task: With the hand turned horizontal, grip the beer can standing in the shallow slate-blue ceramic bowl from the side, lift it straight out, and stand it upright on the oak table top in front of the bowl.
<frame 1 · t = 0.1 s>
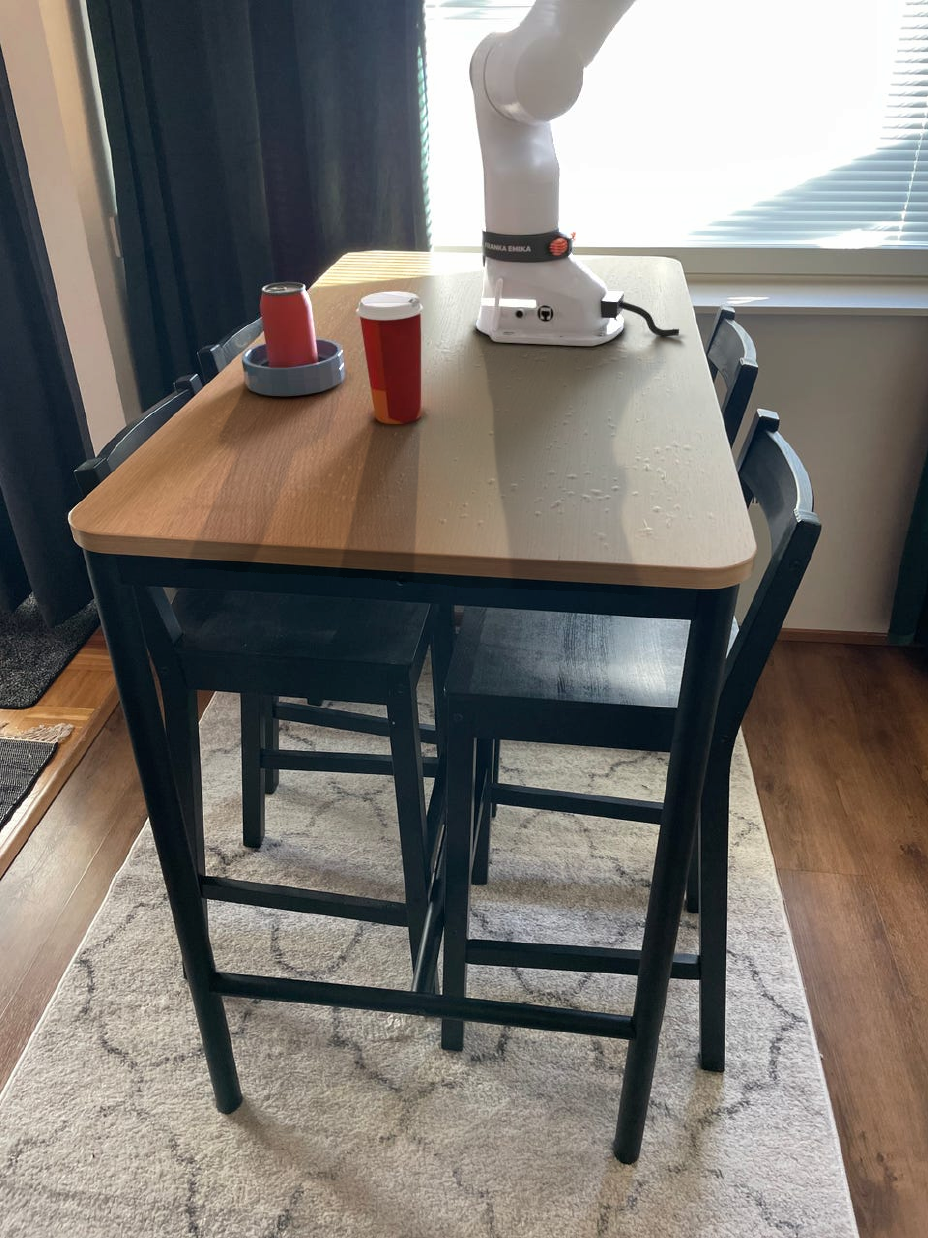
bowl: (296, 381, 125), on the table
beer can: (295, 380, 125), resting on bowl
paper cup: (397, 417, 113), on the table
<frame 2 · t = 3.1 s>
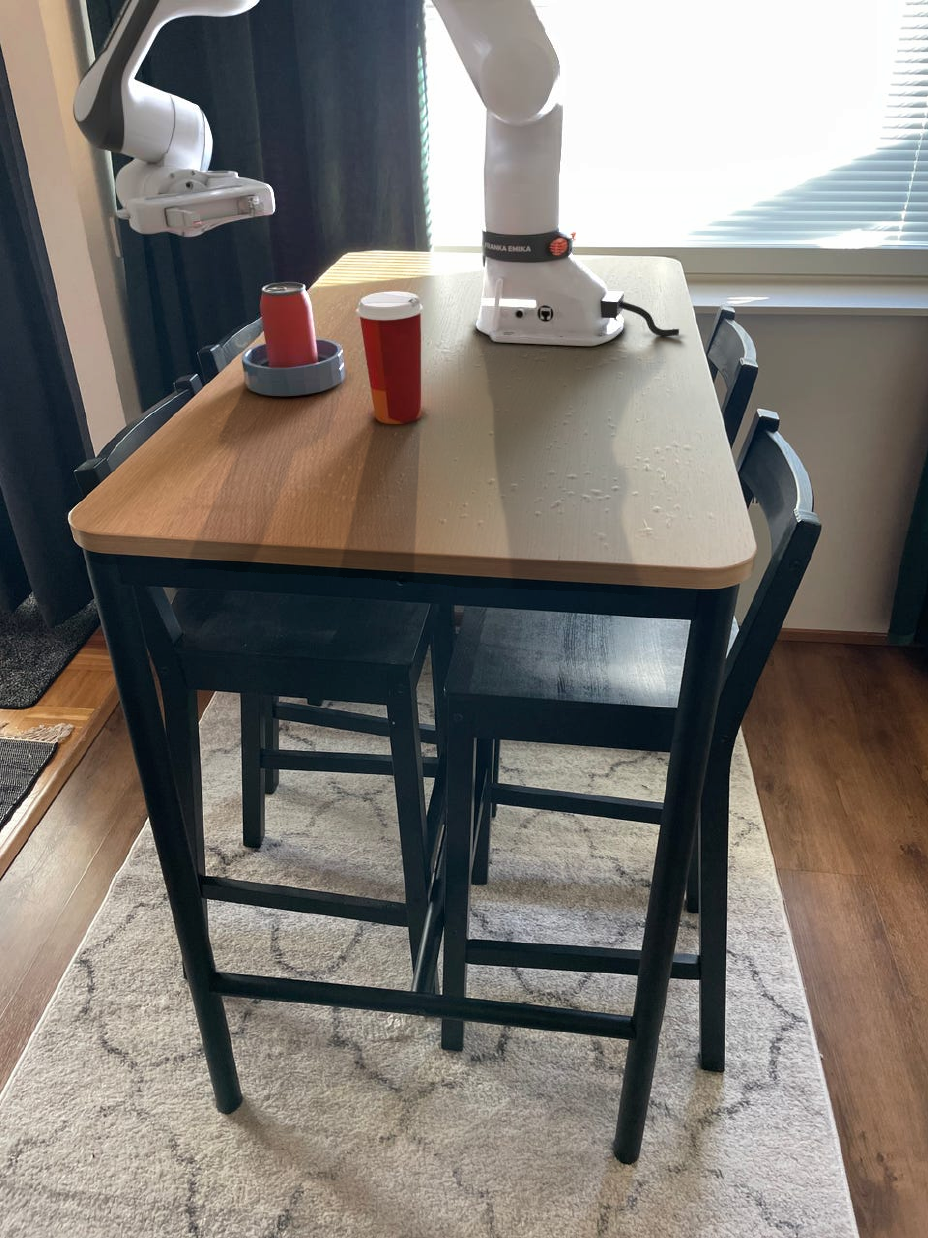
hand: (228, 214, 122), 20 cm above the table, tool horizontal, fingers open, 8 cm apart
nothing on the table moved.
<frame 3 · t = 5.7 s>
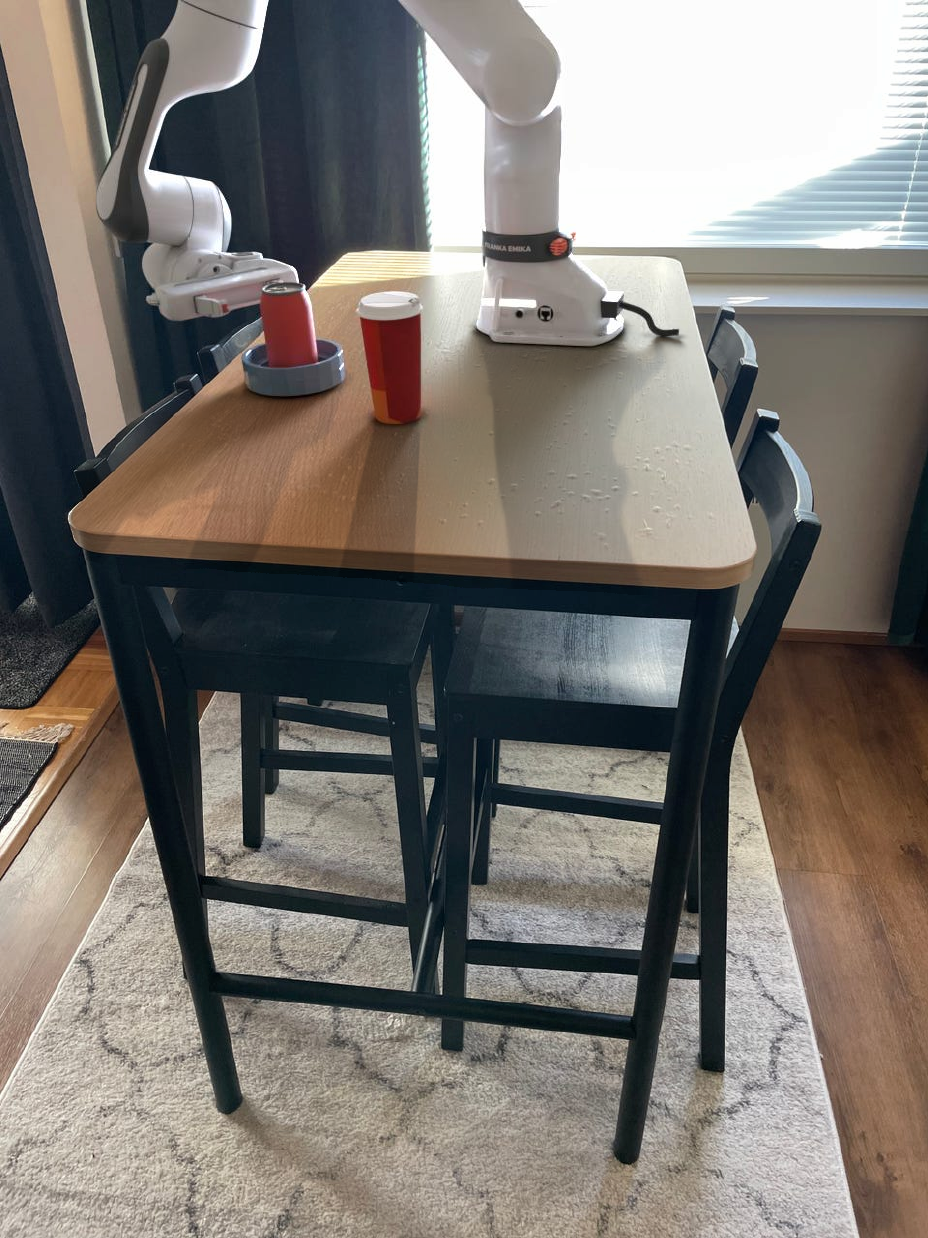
hand: (255, 301, 125), 9 cm above the table, tool horizontal, fingers open, 8 cm apart
nothing on the table moved.
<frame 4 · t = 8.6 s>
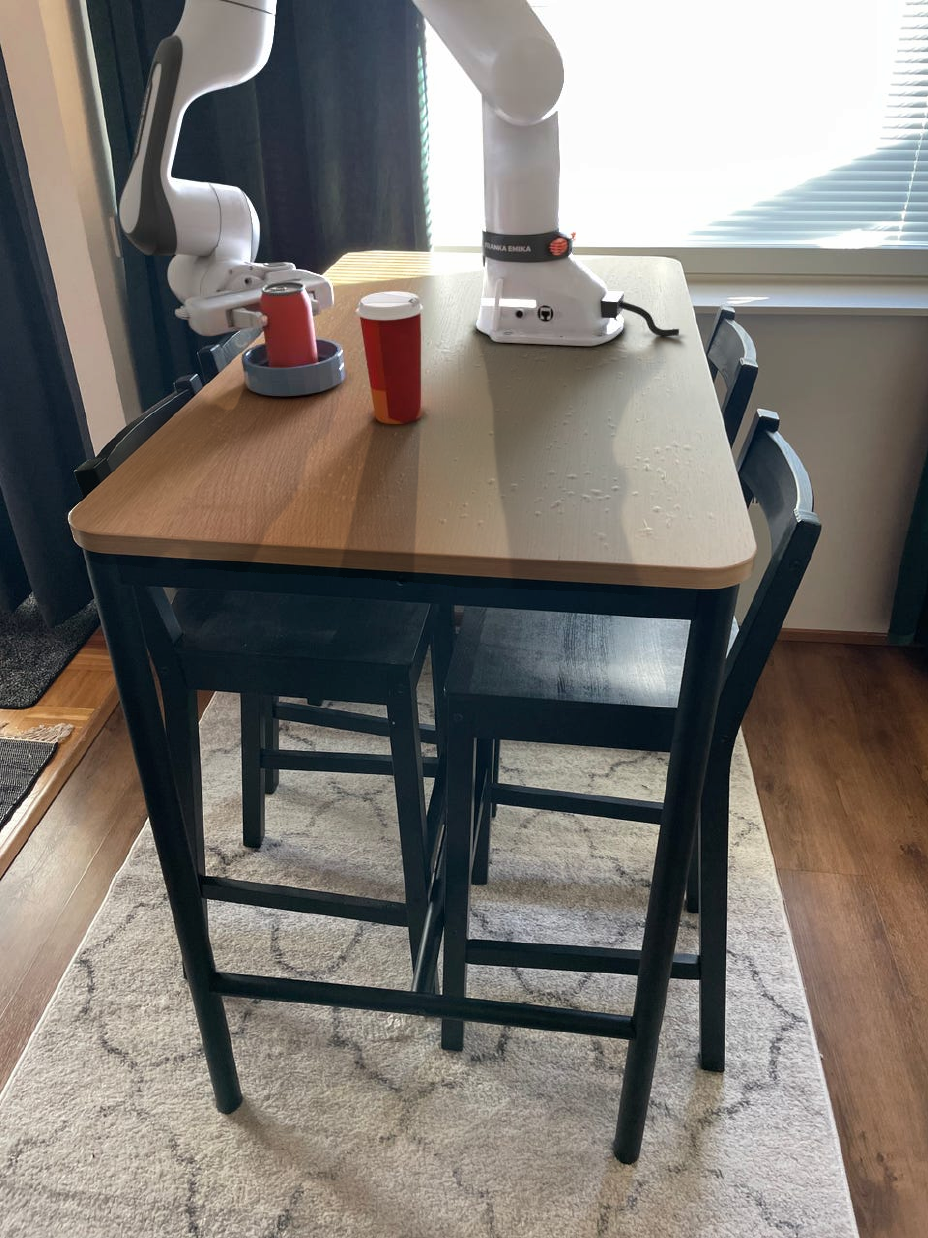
hand: (290, 315, 119), 9 cm above the table, tool horizontal, fingers closed on beer can, 6 cm apart
beer can: (295, 380, 125), resting on bowl, touching gripper
everything else where it was.
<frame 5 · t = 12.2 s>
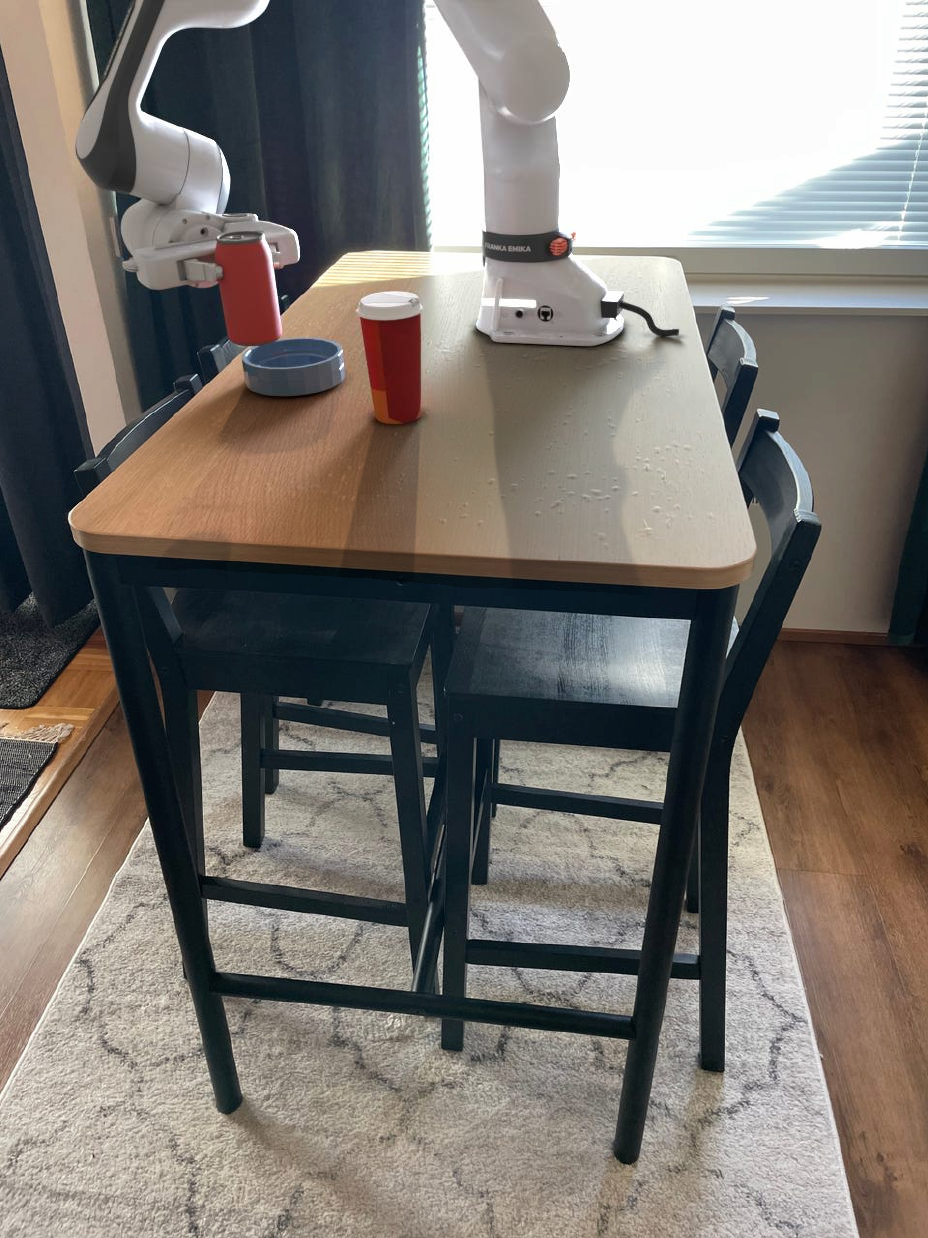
hand: (248, 267, 108), 17 cm above the table, tool horizontal, fingers closed on beer can, 6 cm apart
beer can: (256, 341, 113), point 8 cm above the table, touching gripper
everything else where it was.
when the fingers open (9 cm above the table, at t = 16.2 s): beer can stays where it is, on the table.
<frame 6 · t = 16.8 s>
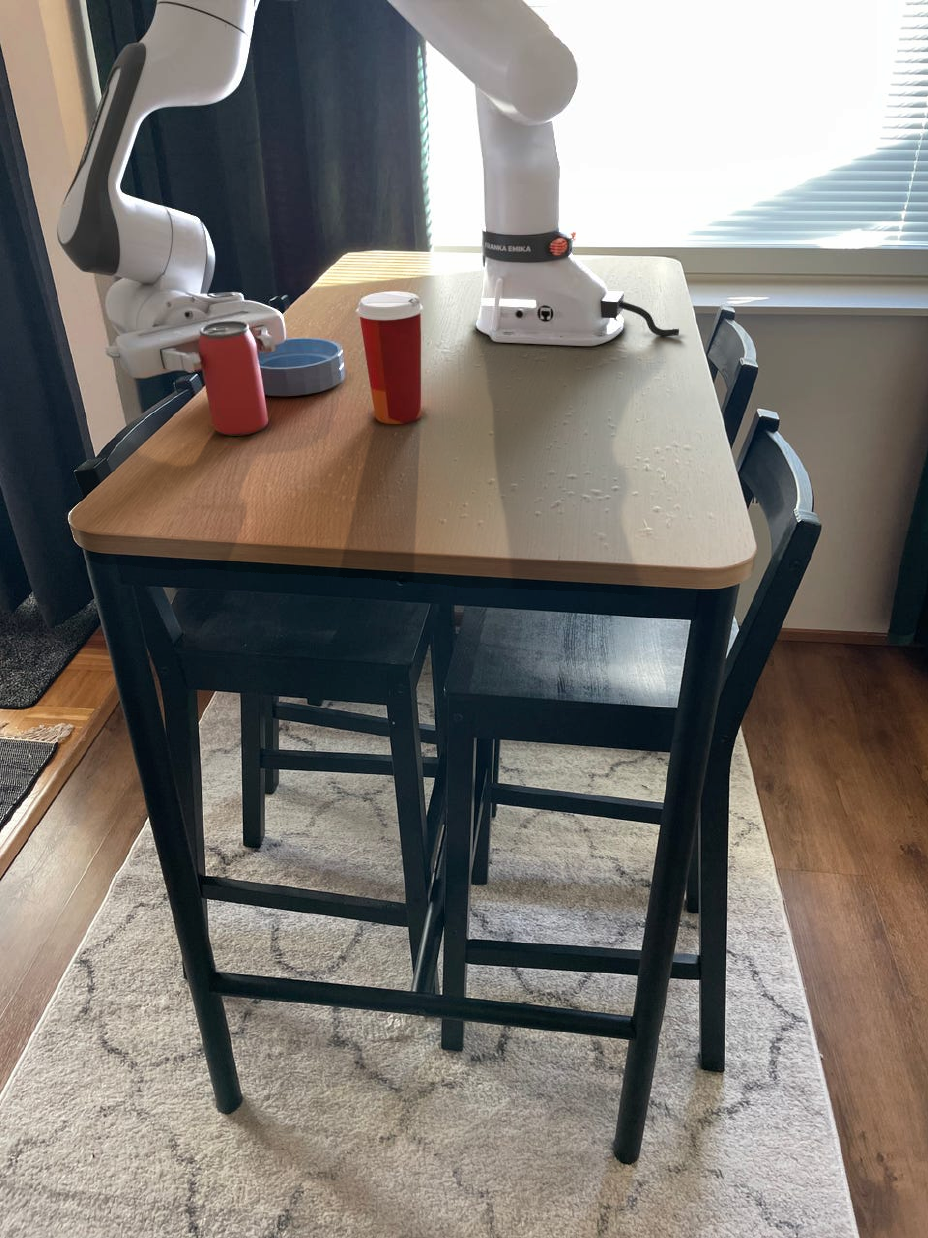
hand: (233, 354, 106), 9 cm above the table, tool horizontal, fingers open, 8 cm apart
beer can: (241, 428, 112), on the table
everything else where it was.
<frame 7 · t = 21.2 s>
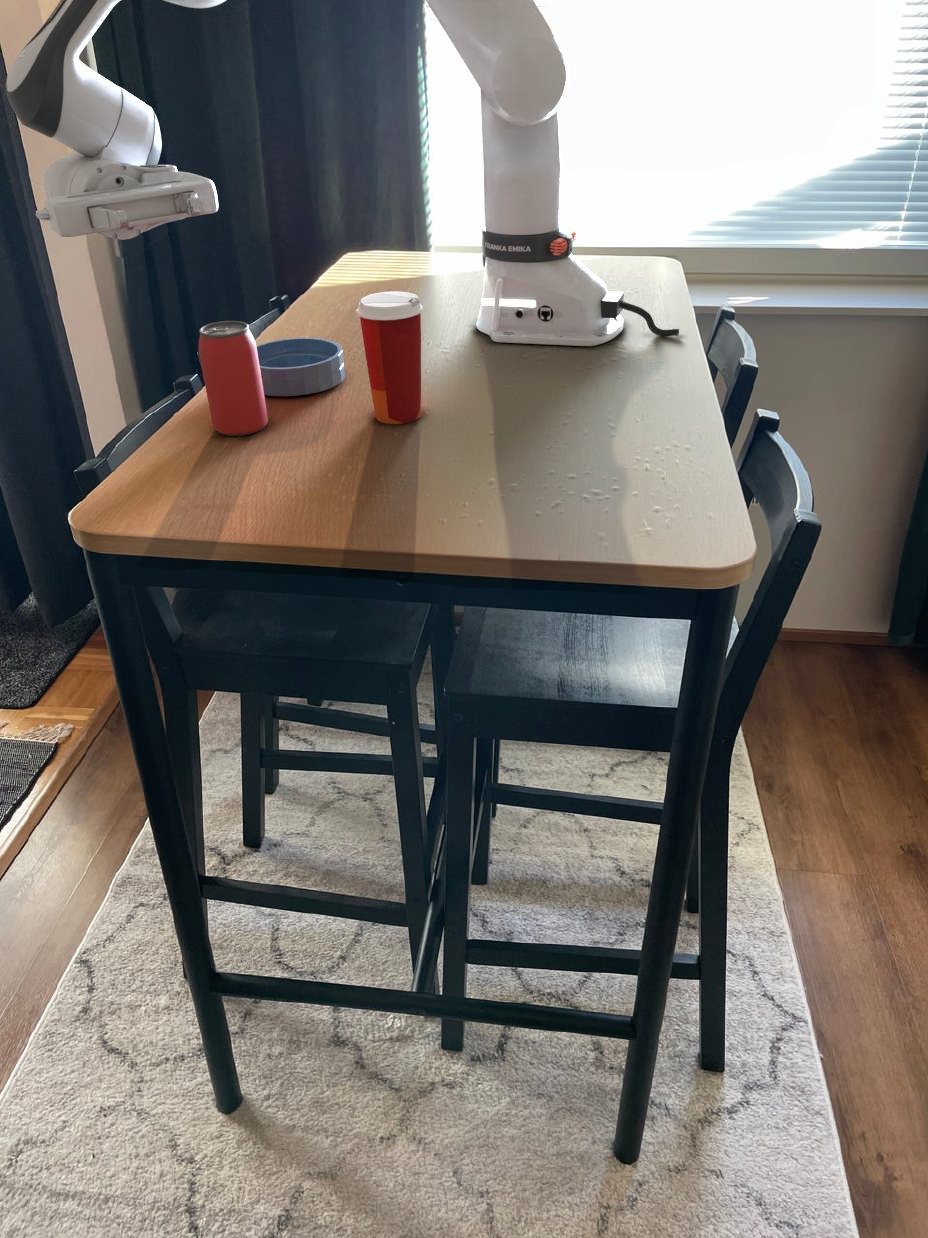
hand: (160, 213, 107), 23 cm above the table, tool horizontal, fingers open, 8 cm apart
nothing on the table moved.
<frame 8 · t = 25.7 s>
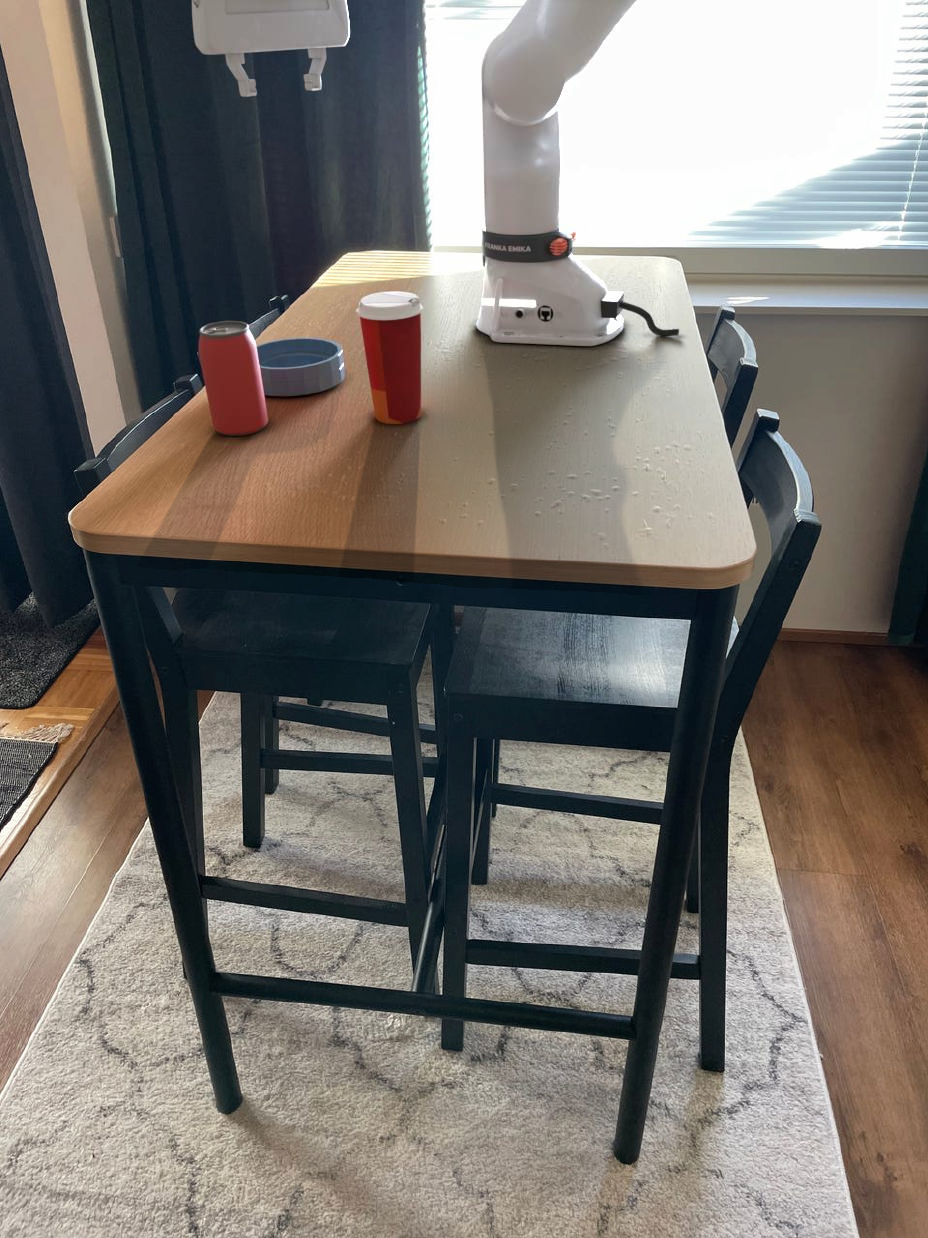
hand: (281, 92, 117), 33 cm above the table, tool pointing down, fingers open, 8 cm apart
nothing on the table moved.
at the end: beer can inside the target area (0.1 cm from its centre), on the table; beer can tilted 0°; beer can touching table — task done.
